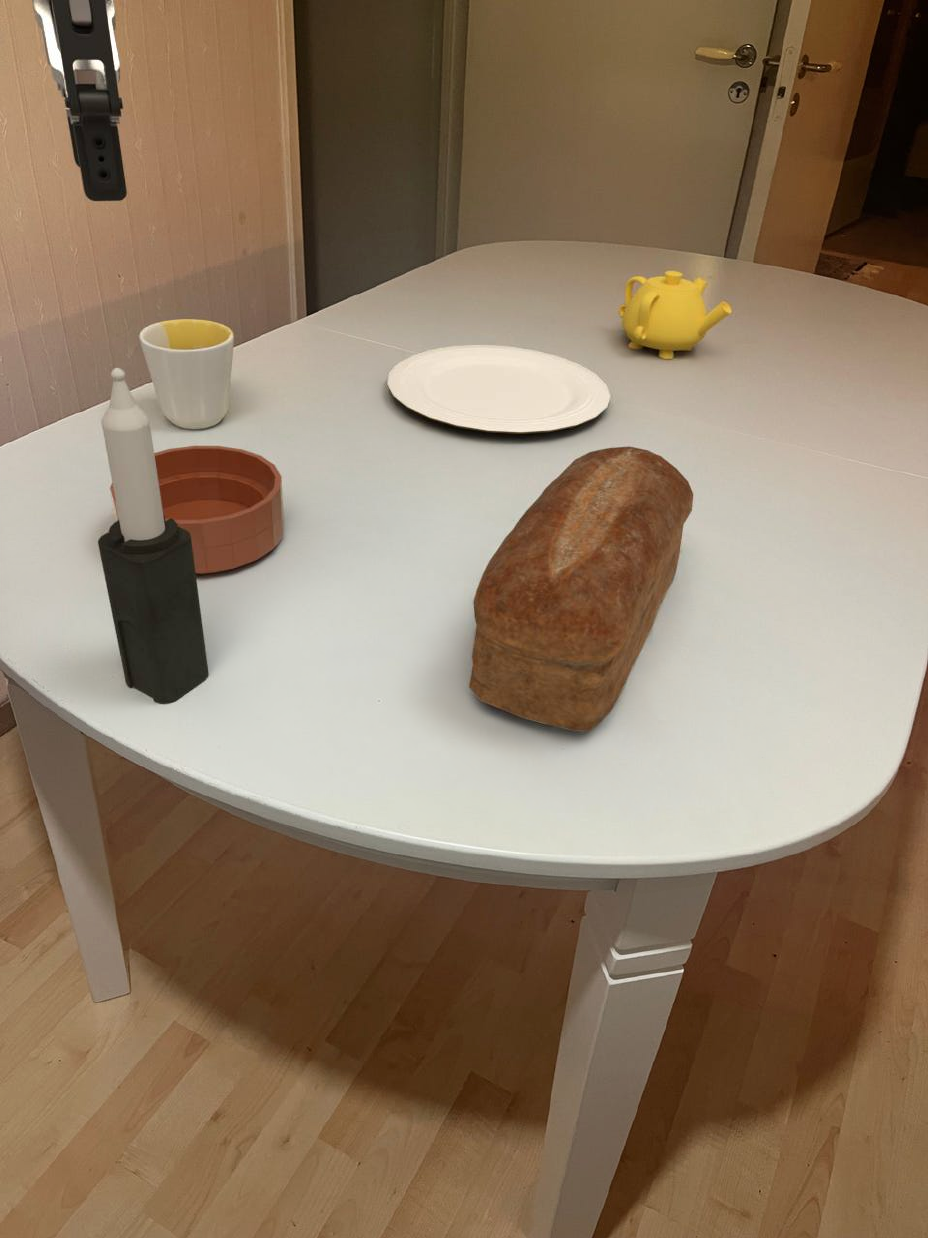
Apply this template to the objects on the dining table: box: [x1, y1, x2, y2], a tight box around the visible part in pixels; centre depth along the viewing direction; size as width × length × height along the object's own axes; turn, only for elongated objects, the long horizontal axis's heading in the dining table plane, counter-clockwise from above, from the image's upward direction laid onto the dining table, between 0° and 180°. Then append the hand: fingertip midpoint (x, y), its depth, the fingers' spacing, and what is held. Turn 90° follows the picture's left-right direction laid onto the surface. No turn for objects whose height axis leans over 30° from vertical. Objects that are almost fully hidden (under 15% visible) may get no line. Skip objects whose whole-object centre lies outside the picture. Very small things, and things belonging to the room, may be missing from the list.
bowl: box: [109, 445, 285, 575], centre depth 87 cm, size 15×15×6 cm
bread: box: [468, 446, 694, 732], centre depth 77 cm, size 12×31×14 cm, turn 157°
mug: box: [138, 318, 235, 430], centre depth 108 cm, size 14×10×10 cm
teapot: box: [618, 270, 732, 360], centre depth 138 cm, size 14×14×11 cm
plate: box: [387, 344, 611, 435], centre depth 121 cm, size 29×29×2 cm
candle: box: [97, 367, 209, 704], centre depth 65 cm, size 5×5×25 cm
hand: (100, 182), depth 55 cm, fingers open, 8 cm apart
